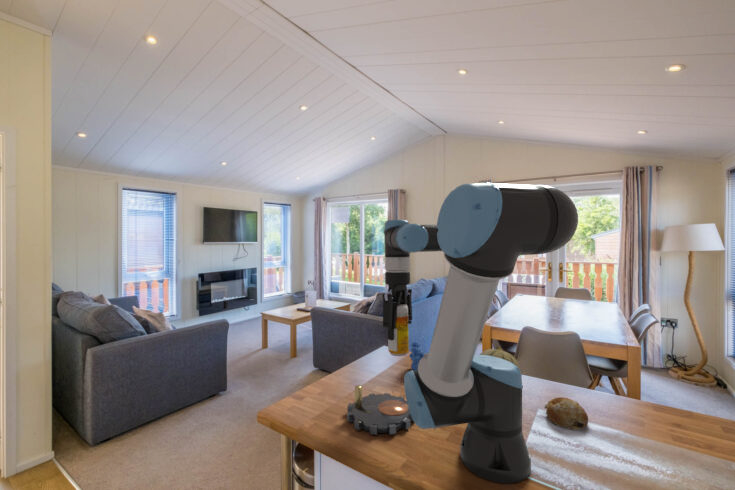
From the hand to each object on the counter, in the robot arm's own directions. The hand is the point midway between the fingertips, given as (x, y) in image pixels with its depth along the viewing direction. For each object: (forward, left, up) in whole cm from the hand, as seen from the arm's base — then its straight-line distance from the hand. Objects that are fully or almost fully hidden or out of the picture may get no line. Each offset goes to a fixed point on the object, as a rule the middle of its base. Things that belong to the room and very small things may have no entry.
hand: (398, 347), depth 102 cm
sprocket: (-2, +8, -18) cm, 20 cm away
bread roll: (-31, -34, -19) cm, 50 cm away
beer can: (0, 0, -2) cm, 2 cm away
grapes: (+18, -23, -19) cm, 35 cm away
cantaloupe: (-11, -32, -19) cm, 39 cm away
